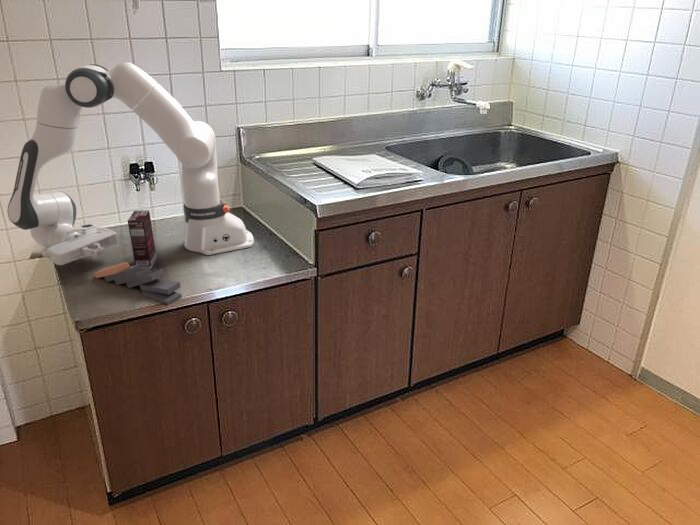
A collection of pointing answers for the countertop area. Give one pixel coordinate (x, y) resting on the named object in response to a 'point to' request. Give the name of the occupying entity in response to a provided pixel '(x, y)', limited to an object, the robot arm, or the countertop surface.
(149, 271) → the domino
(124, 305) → the countertop surface
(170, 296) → the domino
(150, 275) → the domino
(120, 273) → the domino
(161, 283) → the domino
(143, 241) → the supplement box
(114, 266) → the domino
